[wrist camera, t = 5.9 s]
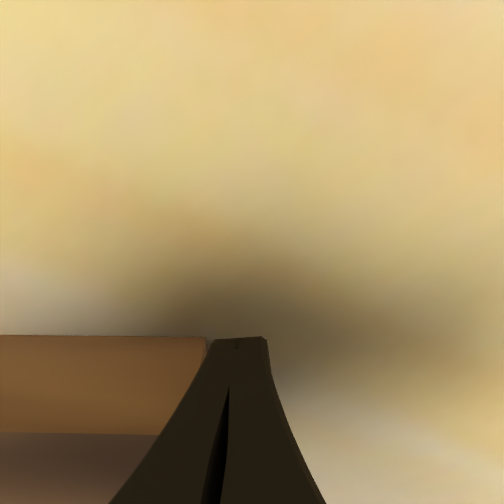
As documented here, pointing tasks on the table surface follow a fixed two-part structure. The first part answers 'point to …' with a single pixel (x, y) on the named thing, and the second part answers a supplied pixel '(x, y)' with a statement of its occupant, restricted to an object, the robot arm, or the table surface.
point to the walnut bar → (85, 411)
